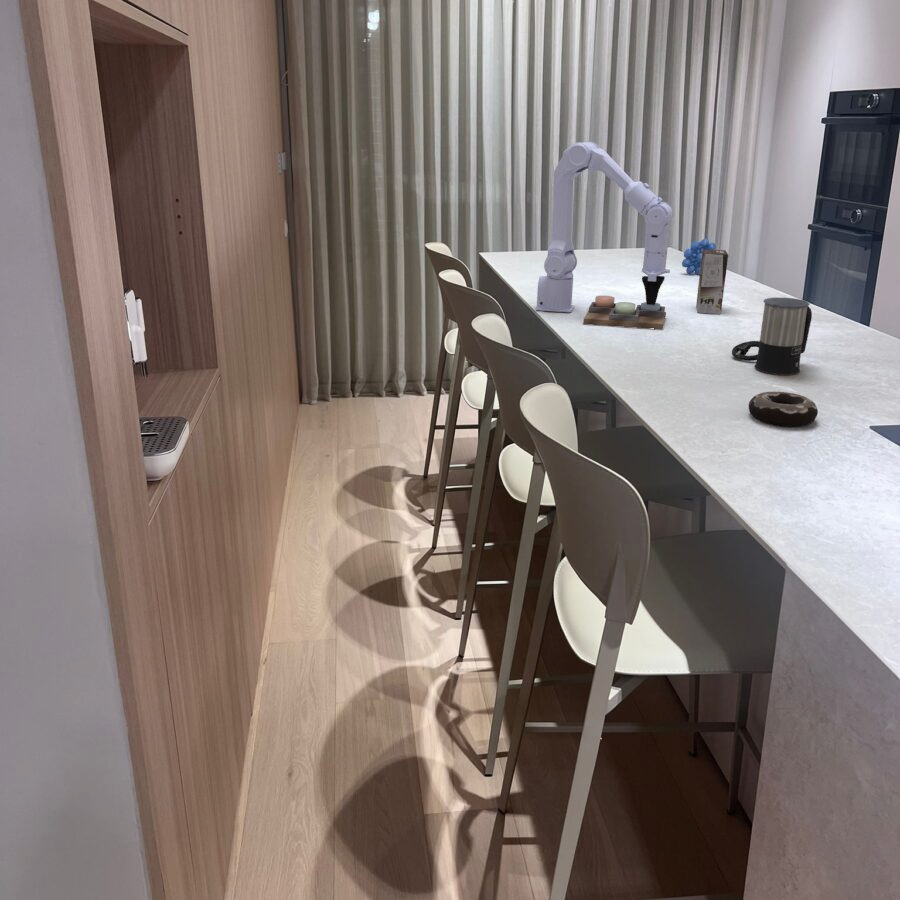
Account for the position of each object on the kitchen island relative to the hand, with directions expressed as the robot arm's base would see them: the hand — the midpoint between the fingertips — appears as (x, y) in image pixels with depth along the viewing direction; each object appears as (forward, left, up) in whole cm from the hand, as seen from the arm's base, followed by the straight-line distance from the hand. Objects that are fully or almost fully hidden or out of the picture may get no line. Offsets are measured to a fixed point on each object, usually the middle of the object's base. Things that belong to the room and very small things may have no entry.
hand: (650, 304), depth 234 cm
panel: (-6, -3, -4) cm, 8 cm away
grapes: (+11, +76, -4) cm, 77 cm away
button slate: (0, 0, -2) cm, 2 cm away
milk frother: (+27, -38, -4) cm, 47 cm away
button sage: (-6, -7, -1) cm, 9 cm away
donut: (+28, -75, -4) cm, 80 cm away
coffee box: (+15, +17, -4) cm, 23 cm away
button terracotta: (-12, 0, -1) cm, 12 cm away
